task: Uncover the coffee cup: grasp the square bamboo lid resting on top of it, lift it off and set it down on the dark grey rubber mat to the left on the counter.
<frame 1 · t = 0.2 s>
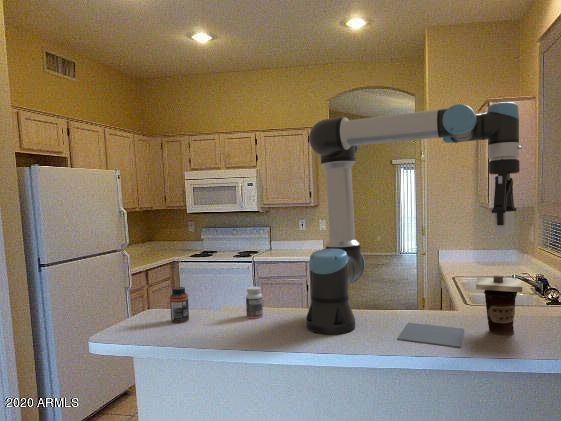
hand: (504, 235, 112), 27 cm above the counter, fingers open, 13 cm apart
coffee cup: (501, 332, 114), on the counter, touching bamboo lid
pill bottle: (254, 317, 138), on the counter
rubber mat: (431, 334, 114), on the counter
bamboo lid: (498, 286, 114), point 13 cm above the counter, touching coffee cup
supplement bottle: (180, 321, 135), on the counter
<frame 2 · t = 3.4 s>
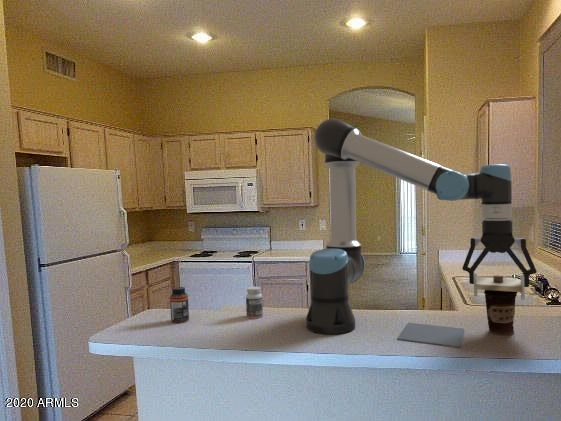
hand: (498, 297, 114), 10 cm above the counter, fingers closed on bamboo lid, 11 cm apart
bamboo lid: (498, 286, 114), point 13 cm above the counter, touching coffee cup, gripper
everything else where it was.
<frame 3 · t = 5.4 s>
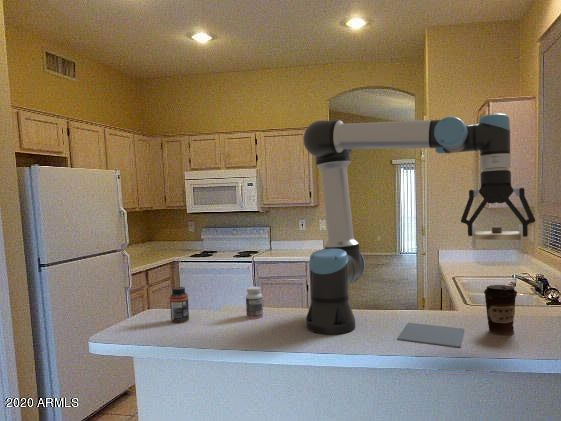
hand: (497, 248, 113), 24 cm above the counter, fingers closed on bamboo lid, 11 cm apart
coffee cup: (501, 332, 114), on the counter
bamboo lid: (496, 237, 113), point 27 cm above the counter, touching gripper
everything else where it was.
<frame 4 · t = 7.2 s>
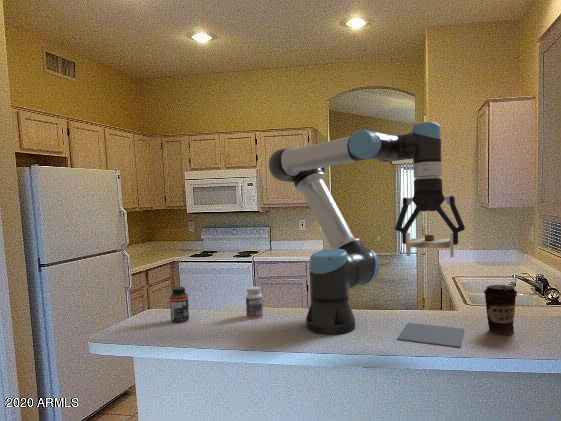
hand: (429, 256, 113), 22 cm above the counter, fingers closed on bamboo lid, 11 cm apart
bamboo lid: (429, 245, 113), point 25 cm above the counter, touching gripper
everything else where it was.
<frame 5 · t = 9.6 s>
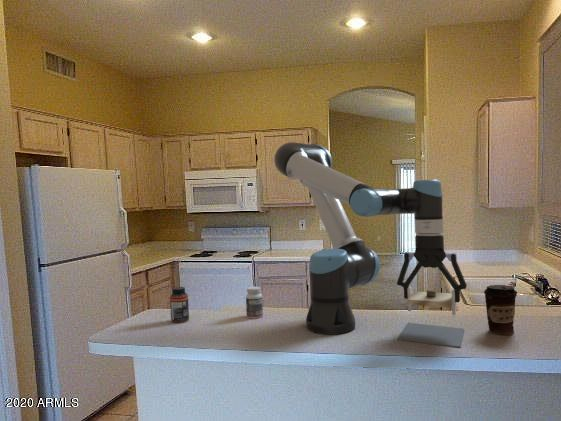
hand: (431, 311, 114), 6 cm above the counter, fingers closed on bamboo lid, 11 cm apart
bamboo lid: (431, 301, 113), point 9 cm above the counter, touching gripper
everything else where it was.
when the fingers open (2 cm above the counter, at t = 11.4 s): bamboo lid drops 4 cm, resting on rubber mat.
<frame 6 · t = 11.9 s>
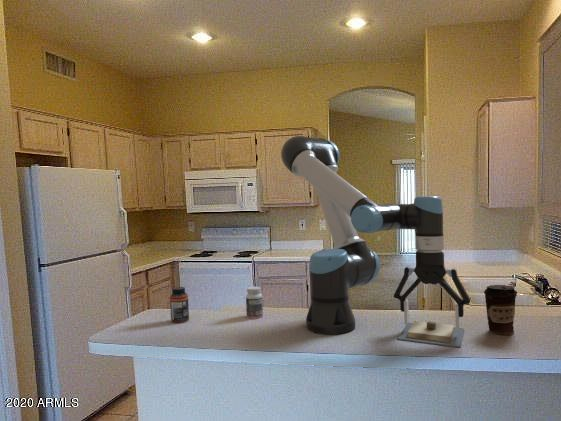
hand: (431, 325, 114), 3 cm above the counter, fingers open, 13 cm apart
bamboo lid: (431, 333, 114), resting on rubber mat
everything else where it was.
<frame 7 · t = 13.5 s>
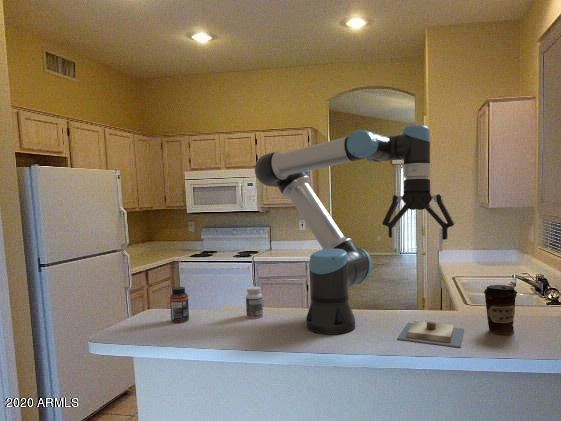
hand: (417, 249, 120), 23 cm above the counter, fingers open, 13 cm apart
nothing on the counter moved.
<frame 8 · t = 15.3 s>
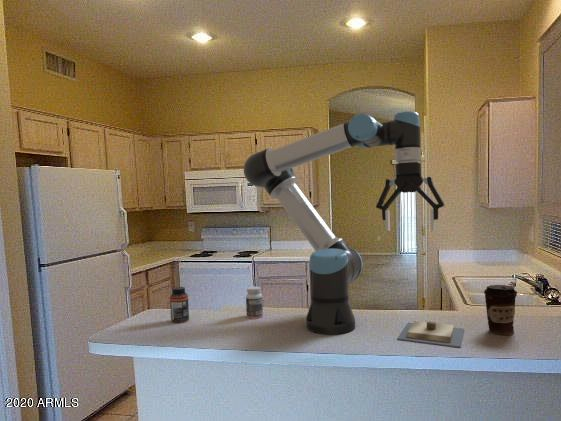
hand: (409, 230, 125), 29 cm above the counter, fingers open, 13 cm apart
nothing on the counter moved.
at the end: bamboo lid inside the target area on the rubber mat (0.1 cm from its centre), point 0.3 cm above the rubber mat's base; coffee cup tilted 0°; the gripper is holding nothing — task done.
